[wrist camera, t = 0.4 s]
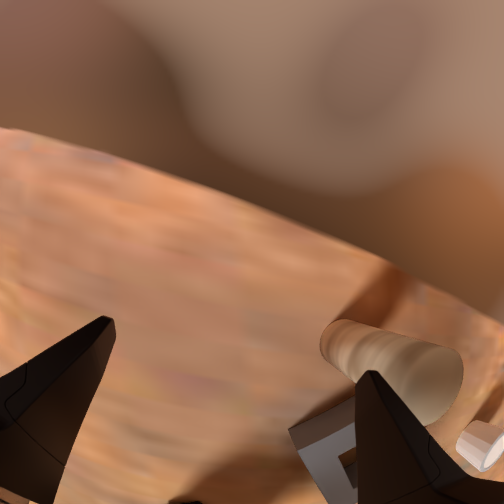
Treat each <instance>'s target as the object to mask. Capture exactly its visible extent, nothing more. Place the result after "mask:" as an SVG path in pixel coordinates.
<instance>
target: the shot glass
mask: <svg viewBox="0 0 504 504" xmlns="http://www.w3.org/2000/svg"><path fill="white" fill-rule="evenodd" d="M456 451H457V452H458V453H459V454H461V455H462V456H463V457H464V458H465V459H466V460H468V461H469V462H470V463H471V464H472V465H473V466H475V467H476V468H477V469H478V470H479V471H480V472H485V471H486V470H488V469H489V468H490V467H492V466H493V465H494V464H495V462H496V461H497V460H498V459H499V458H500V456H501V455H502V453H503V452H504V428H502V427H499V426H495V425H492V424H489V423H485V422H482V421H479V420H475V421H472V422H471V423H470V424H469V425H468V426H467V427H466V428H465V429H464V430H463V432H462V433H461V435H460V436H459V438H458V441H457V443H456Z"/></svg>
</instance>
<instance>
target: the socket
mask: <svg viewBox="0 0 504 504" xmlns="http://www.w3.org/2000/svg"><path fill="white" fill-rule="evenodd" d="M288 431H289V433H290V435H291V438H292V440H293V442H294V445H295V447H296V449H297V452H298V453H299V455H300V457H301V459H302V460H303V462H304V464H305V466H306V467H307V469H308V471H309V473H310V474H311V476H312V478H313V479H314V481H315V483H316V484H317V486H318V488H319V489H320V491H321V493H322V494H323V496H324V498H325V499H326V501H327V502H328V504H355V503H357V502H358V486H357V462H355V463H353V464H351V465H349V466H347V467H346V468H343V466H342V464H341V462H340V460H339V458H338V456H339V455H341V454H343V453H345V452H346V451H348V450H350V449H352V448H354V447H356V438H355V396H353V397H351V398H349V399H348V400H346V401H344V402H342V403H341V404H339V405H337V406H335V407H333V408H331V409H329V410H328V411H326V412H324V413H322V414H320V415H318V416H316V417H314V418H312V419H310V420H308V421H306V422H304V423H301V424H299V425H297V426H295V427H293V428H290V429H288Z"/></svg>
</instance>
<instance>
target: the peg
mask: <svg viewBox="0 0 504 504" xmlns="http://www.w3.org/2000/svg"><path fill="white" fill-rule="evenodd" d="M320 351H321V354H322V356H323V357H324V359H325V360H327V361H328V362H329V363H330V364H332V365H333V366H334V367H335V368H337V369H338V370H339V371H340V372H342V373H343V374H344V375H346V376H347V377H348V378H349V379H351V380H352V381H353V382H355V383H357V381H358V380H359V379H360V377H361V376H362V375H363V374H364V372H365V371H367V370H376V371H378V372H379V373H380V374H381V375H382V377H383V378H384V379H385V380H386V381H387V383H388V384H389V385H390V386H391V387H392V389H393V390H394V391H395V392H396V393H397V395H398V396H399V397H400V398H401V399H402V401H403V402H404V403H405V404H406V405H407V407H408V408H409V409H410V410H411V411H412V413H413V414H414V415H415V416H416V417H417V419H418V420H419V421H420V422H421V424H422V425H423V426H426V425H429V424H431V423H433V422H435V421H436V420H438V419H439V418H440V417H441V416H442V415H444V414H445V412H446V411H447V410H448V409H449V408H450V407H451V405H452V404H453V402H454V400H455V399H456V397H457V395H458V393H459V390H460V388H461V384H462V380H463V370H464V369H463V362H462V359H461V356H460V355H459V353H458V352H457V351H455V350H454V349H451V348H447V347H443V346H440V345H436V344H432V343H428V342H425V341H421V340H417V339H414V338H410V337H407V336H403V335H400V334H396V333H393V332H389V331H386V330H382V329H379V328H376V327H372V326H369V325H366V324H362V323H359V322H356V321H352V320H349V319H340V320H336V321H334V322H333V323H331V324H330V325H329V326H328V327H327V328H326V329H325V330H324V332H323V334H322V336H321V339H320Z"/></svg>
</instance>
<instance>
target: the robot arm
mask: <svg viewBox="0 0 504 504" xmlns="http://www.w3.org/2000/svg"><path fill="white" fill-rule="evenodd" d="M115 340H116V330H115V323H114V320H113V318H110V317H107V316H104V315H103V316H100V317H99V318H97V319H95V320H94V321H92V322H90V323H89V324H87V325H85V326H84V327H82V328H80V329H79V330H77V331H75V332H74V333H72V334H71V335H69V336H67V337H66V338H64V339H62V340H61V341H59V342H58V343H56V344H54V345H53V346H51V347H50V348H48V349H46V350H45V351H43V352H42V353H40V354H38V355H37V356H35V357H34V358H32V359H31V360H29V361H28V362H26V363H24V364H23V365H21V366H19V367H18V368H16V369H14V370H13V371H11V372H9V373H8V374H6V375H4V376H2V377H0V504H29V501H33V502H35V503H38V504H53V502H54V499H55V496H56V493H57V489H58V486H59V483H60V480H61V477H62V475H63V472H64V469H65V466H66V463H67V460H68V457H69V455H70V452H71V449H72V447H73V444H74V442H75V439H76V437H77V434H78V432H79V429H80V427H81V424H82V422H83V420H84V417H85V415H86V413H87V410H88V408H89V406H90V403H91V401H92V399H93V397H94V395H95V392H96V390H97V388H98V386H99V384H100V382H101V379H102V377H103V374H104V371H105V369H106V366H107V363H108V360H109V357H110V354H111V351H112V348H113V346H114V343H115ZM355 438H356V455H357V486H358V504H504V482H498V481H492V480H485V479H480V478H475V477H472V476H470V475H468V474H467V473H466V472H464V471H463V470H462V469H461V468H460V467H459V465H458V464H457V463H456V462H455V461H454V460H453V459H452V458H451V457H450V456H449V455H448V454H447V453H446V452H445V451H444V450H443V449H442V448H441V447H440V445H439V444H438V443H437V442H436V441H435V439H434V438H433V437H432V436H431V435H429V432H428V431H427V430H426V428H425V427H424V426H423V425H422V424H421V422H420V421H419V420H418V419H417V417H416V416H415V415H414V414H413V413H412V411H411V410H410V409H409V408H408V407H407V405H406V404H405V403H404V402H403V401H402V399H401V398H400V397H399V396H398V395H397V393H396V392H395V391H394V390H393V389H392V387H391V386H390V385H389V384H388V383H387V381H386V380H385V379H384V378H383V377H382V375H381V374H380V373H379V372H378V371H376V370H367V371H365V372H364V374H363V375H362V376H361V377H360V379H359V380H358V381H357V383H356V385H355ZM184 504H202V503H201V502H198V501H195V502H190V503H184Z"/></svg>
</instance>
